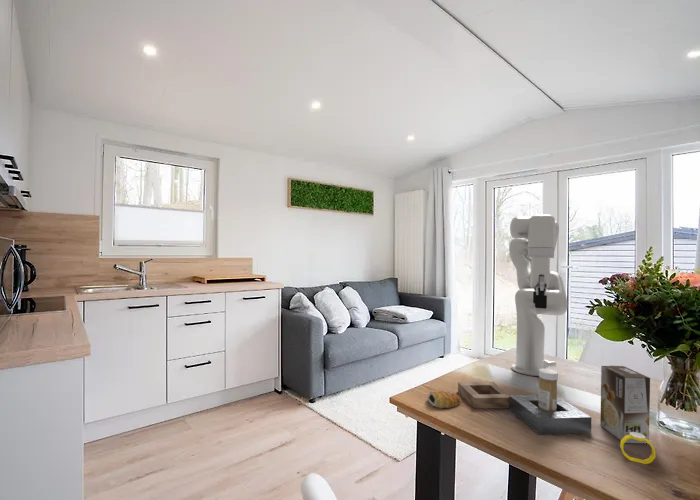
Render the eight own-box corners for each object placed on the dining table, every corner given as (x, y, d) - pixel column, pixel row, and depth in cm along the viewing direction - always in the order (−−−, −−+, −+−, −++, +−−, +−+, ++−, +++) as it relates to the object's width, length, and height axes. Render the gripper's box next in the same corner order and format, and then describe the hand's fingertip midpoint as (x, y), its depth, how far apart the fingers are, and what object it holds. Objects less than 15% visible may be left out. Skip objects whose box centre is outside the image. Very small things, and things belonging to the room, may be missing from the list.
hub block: (554, 408, 105) (554, 394, 105) (591, 432, 91) (591, 417, 91) (509, 409, 103) (509, 395, 103) (539, 434, 89) (539, 418, 89)
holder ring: (493, 390, 116) (493, 381, 116) (513, 407, 104) (514, 397, 104) (457, 391, 115) (458, 382, 115) (474, 408, 103) (474, 398, 103)
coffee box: (650, 444, 86) (652, 378, 86) (623, 443, 86) (625, 377, 86) (622, 425, 95) (624, 365, 95) (598, 424, 95) (599, 364, 95)
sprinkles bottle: (560, 423, 95) (561, 373, 95) (544, 423, 95) (545, 373, 95) (549, 415, 100) (551, 367, 100) (534, 415, 100) (535, 367, 99)
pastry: (453, 398, 111) (453, 385, 111) (465, 407, 104) (465, 395, 104) (425, 400, 108) (426, 388, 108) (436, 410, 102) (436, 397, 102)
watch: (622, 461, 79) (621, 434, 79) (620, 455, 81) (618, 429, 82) (657, 468, 76) (655, 440, 76) (653, 461, 79) (651, 434, 79)
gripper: (526, 252, 125) (525, 301, 125) (529, 253, 109) (527, 308, 109) (551, 253, 122) (550, 303, 122) (557, 253, 106) (555, 311, 106)
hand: (539, 305), depth 116 cm, fingers open, 9 cm apart
